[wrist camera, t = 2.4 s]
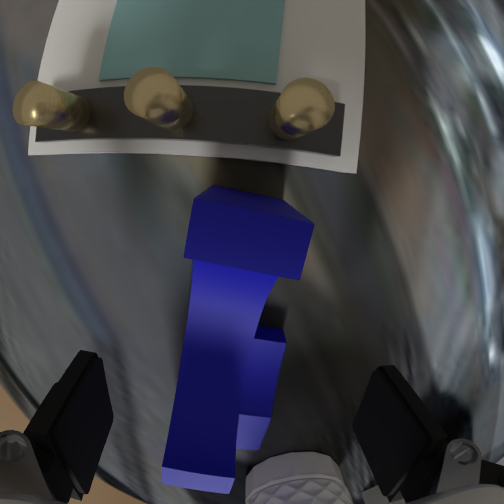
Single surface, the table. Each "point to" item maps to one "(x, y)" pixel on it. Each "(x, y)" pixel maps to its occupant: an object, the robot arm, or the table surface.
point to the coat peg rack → (186, 113)
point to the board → (211, 61)
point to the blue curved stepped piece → (230, 333)
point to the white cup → (297, 480)
